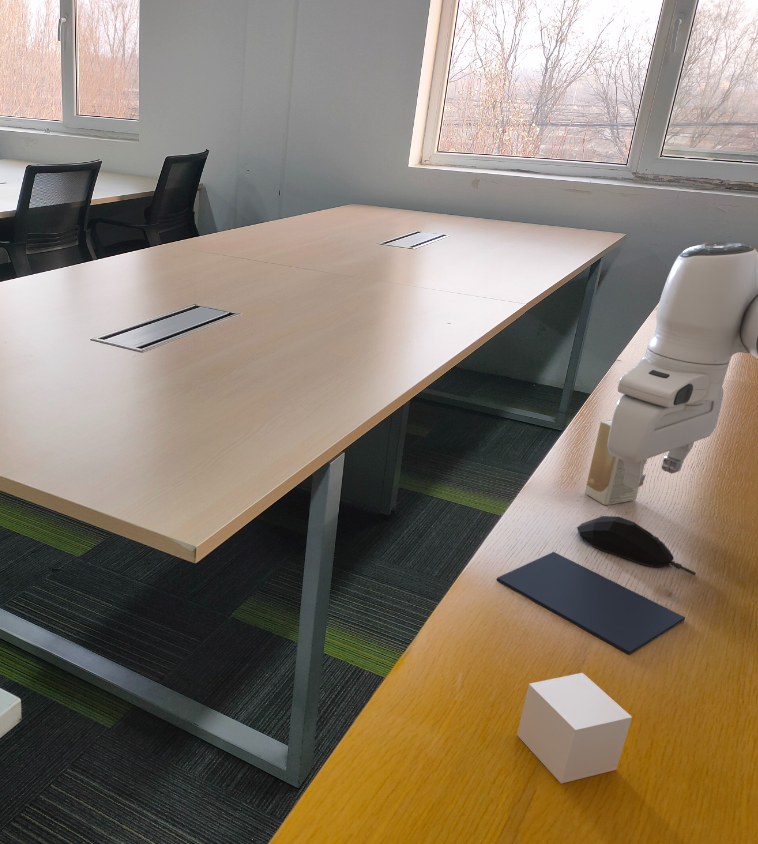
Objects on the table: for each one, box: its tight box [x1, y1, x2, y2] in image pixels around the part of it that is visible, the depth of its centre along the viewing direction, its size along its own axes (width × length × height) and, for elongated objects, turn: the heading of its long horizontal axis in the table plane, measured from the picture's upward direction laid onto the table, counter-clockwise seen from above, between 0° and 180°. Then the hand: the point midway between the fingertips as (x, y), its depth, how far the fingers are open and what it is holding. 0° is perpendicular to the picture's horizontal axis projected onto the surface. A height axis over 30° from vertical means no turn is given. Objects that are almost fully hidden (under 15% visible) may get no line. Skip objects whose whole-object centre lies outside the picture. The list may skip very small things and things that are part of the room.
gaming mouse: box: [576, 515, 697, 576], centre depth 106 cm, size 6×15×4 cm, turn 45°
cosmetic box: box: [584, 419, 645, 506], centre depth 120 cm, size 6×4×12 cm
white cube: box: [516, 672, 633, 784], centre depth 72 cm, size 6×6×6 cm
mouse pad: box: [496, 551, 686, 655], centre depth 96 cm, size 17×12×1 cm
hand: (651, 478), depth 103 cm, fingers open, 8 cm apart
